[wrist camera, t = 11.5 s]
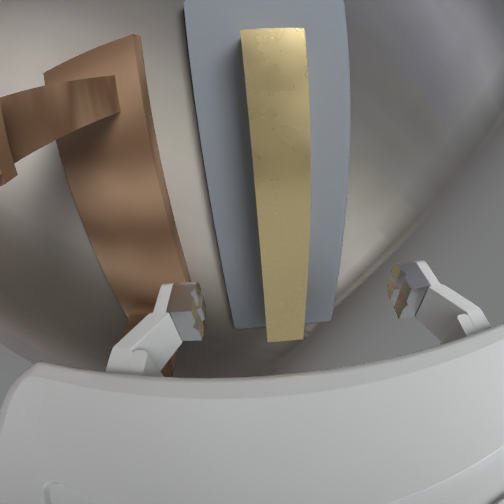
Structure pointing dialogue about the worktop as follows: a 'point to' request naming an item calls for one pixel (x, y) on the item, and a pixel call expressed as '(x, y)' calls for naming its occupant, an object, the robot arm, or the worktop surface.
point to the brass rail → (280, 170)
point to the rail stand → (105, 167)
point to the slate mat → (239, 141)
